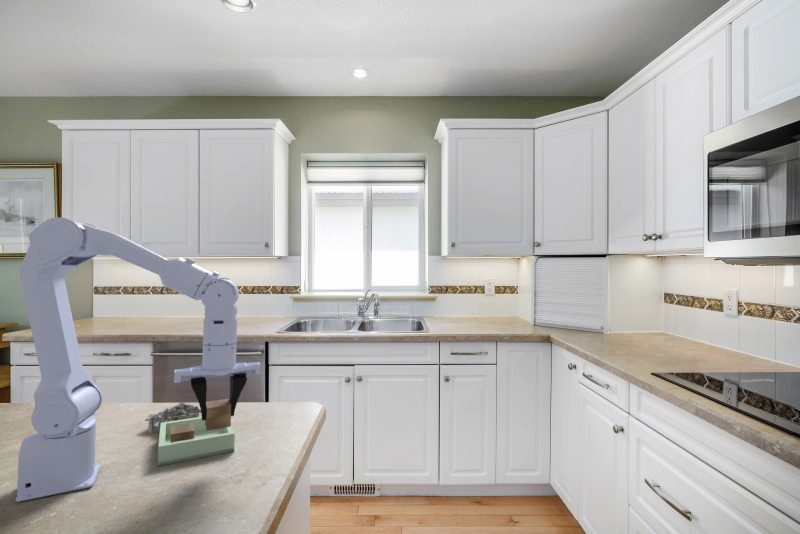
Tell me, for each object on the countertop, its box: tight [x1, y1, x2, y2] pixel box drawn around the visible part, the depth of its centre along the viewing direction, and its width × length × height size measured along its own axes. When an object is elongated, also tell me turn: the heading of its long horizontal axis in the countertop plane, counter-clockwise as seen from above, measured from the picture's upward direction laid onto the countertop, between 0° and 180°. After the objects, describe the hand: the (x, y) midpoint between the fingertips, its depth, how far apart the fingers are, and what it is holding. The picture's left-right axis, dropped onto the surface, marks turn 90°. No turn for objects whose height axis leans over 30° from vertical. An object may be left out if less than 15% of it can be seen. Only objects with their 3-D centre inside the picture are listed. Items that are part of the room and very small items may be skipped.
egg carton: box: [144, 401, 201, 433], centre depth 91 cm, size 11×8×4 cm
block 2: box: [205, 398, 232, 431], centre depth 73 cm, size 4×4×4 cm
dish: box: [157, 416, 235, 467], centre depth 81 cm, size 13×13×4 cm
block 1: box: [170, 424, 194, 443], centre depth 78 cm, size 4×4×4 cm
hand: (217, 416), depth 73 cm, fingers closed on block 2, 4 cm apart
